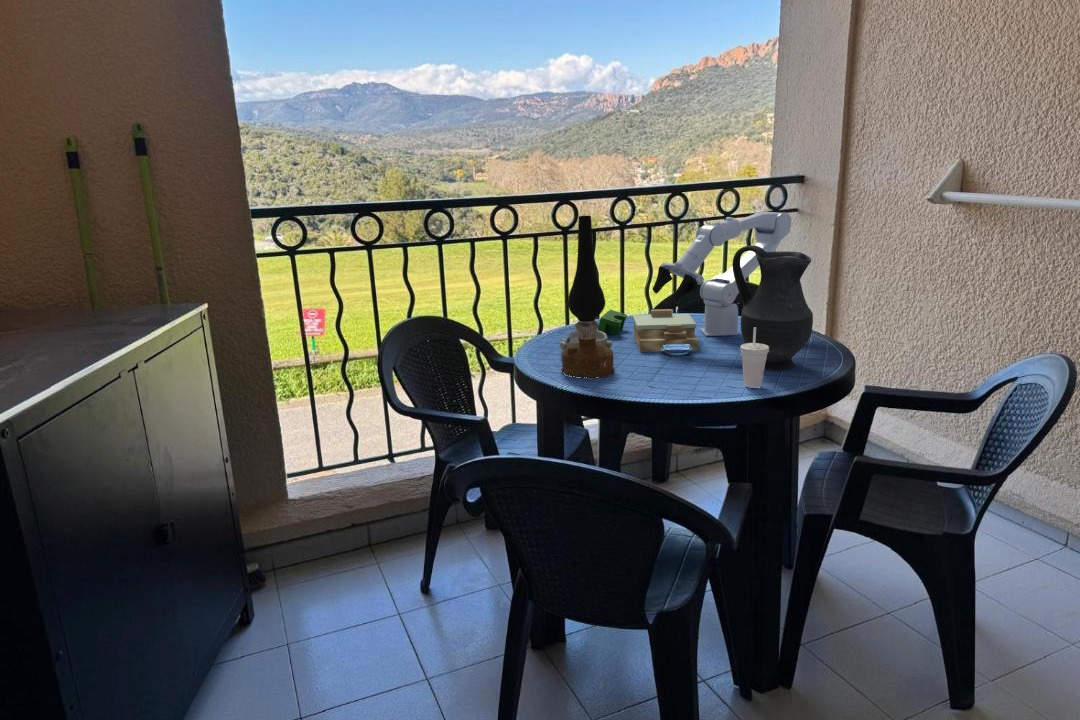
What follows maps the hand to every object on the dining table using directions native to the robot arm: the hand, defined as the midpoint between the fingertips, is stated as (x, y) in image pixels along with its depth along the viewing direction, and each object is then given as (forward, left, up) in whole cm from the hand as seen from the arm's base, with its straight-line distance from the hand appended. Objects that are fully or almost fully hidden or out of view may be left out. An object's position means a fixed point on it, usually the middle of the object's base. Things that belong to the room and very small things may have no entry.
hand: (664, 295), depth 191 cm
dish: (+23, +5, -15) cm, 28 cm away
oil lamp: (+23, +23, -15) cm, 35 cm away
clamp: (+14, -16, -15) cm, 26 cm away
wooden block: (-2, +5, -11) cm, 13 cm away
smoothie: (-15, +38, -15) cm, 44 cm away
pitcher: (-23, +21, -15) cm, 35 cm away
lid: (0, -3, -11) cm, 11 cm away
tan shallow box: (0, -1, -14) cm, 14 cm away
